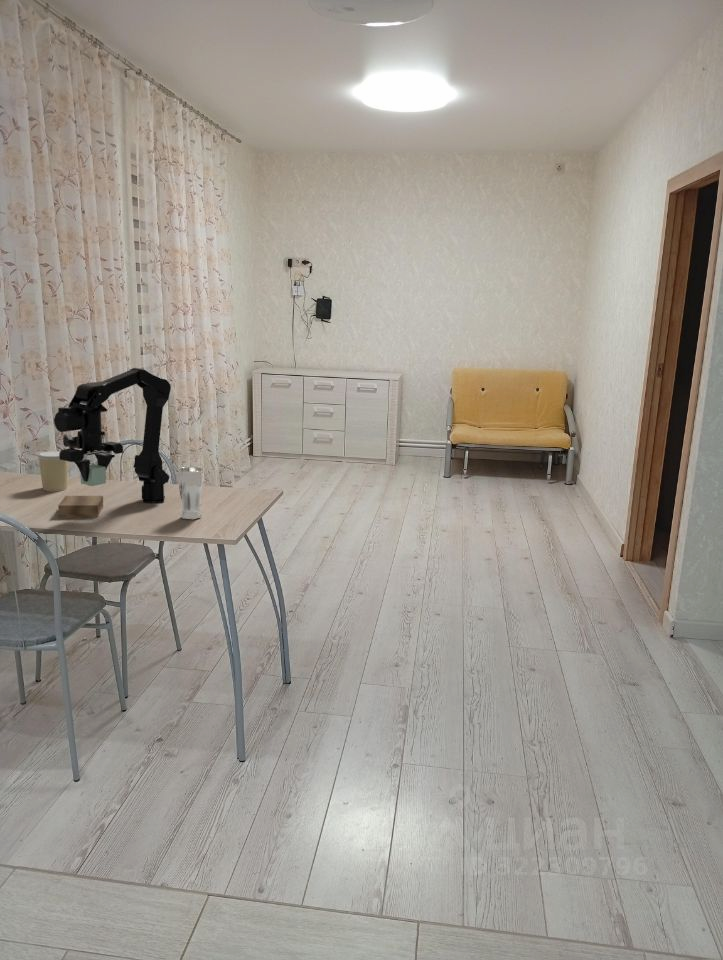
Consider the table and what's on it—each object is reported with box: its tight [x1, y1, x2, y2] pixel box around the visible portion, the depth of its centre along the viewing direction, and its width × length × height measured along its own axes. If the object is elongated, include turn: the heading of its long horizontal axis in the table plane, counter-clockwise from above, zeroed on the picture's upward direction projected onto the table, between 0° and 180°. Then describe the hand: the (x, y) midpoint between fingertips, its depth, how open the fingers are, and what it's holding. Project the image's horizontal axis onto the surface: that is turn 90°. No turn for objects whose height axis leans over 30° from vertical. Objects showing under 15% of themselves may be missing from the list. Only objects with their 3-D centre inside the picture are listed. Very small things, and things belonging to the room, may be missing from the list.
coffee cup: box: [37, 450, 69, 492], centre depth 251 cm, size 9×9×12 cm
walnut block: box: [57, 495, 104, 518], centre depth 228 cm, size 11×11×4 cm
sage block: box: [79, 464, 107, 487], centre depth 222 cm, size 5×5×5 cm
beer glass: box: [178, 466, 204, 520], centre depth 226 cm, size 7×7×15 cm
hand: (93, 479), depth 223 cm, fingers closed on sage block, 5 cm apart
